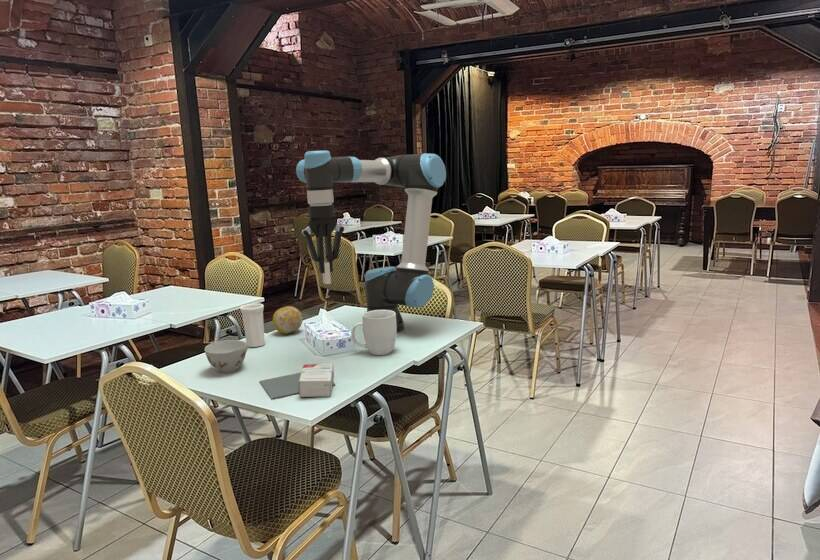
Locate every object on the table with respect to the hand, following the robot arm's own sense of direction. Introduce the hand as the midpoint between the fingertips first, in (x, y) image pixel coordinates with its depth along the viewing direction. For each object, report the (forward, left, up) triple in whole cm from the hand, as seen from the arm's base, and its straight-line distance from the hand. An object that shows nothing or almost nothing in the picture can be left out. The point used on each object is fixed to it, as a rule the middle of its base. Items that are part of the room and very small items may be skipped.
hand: (327, 283), depth 174 cm
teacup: (+28, -16, -27) cm, 42 cm away
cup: (+16, -36, -27) cm, 48 cm away
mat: (+14, +8, -26) cm, 31 cm away
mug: (-17, -4, -27) cm, 32 cm away
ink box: (+8, +10, -23) cm, 26 cm away
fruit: (+2, -44, -27) cm, 51 cm away
